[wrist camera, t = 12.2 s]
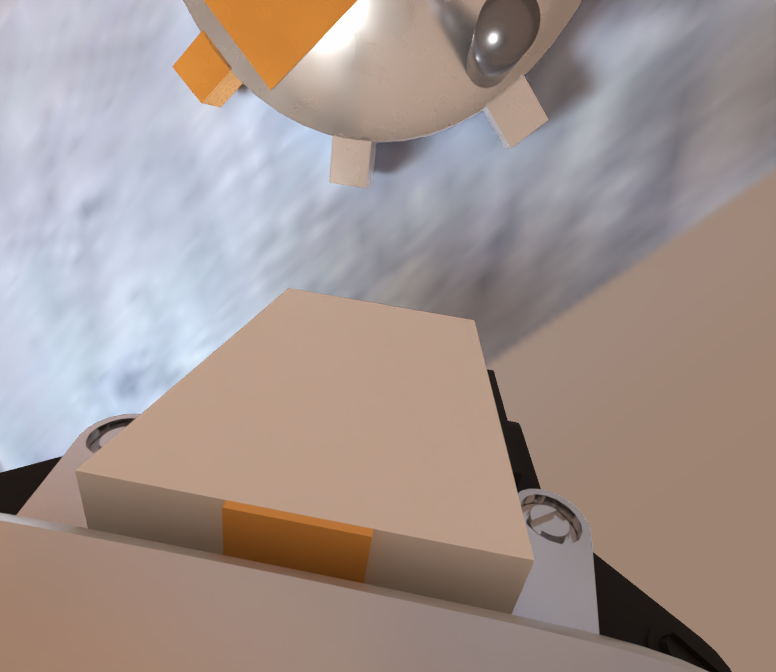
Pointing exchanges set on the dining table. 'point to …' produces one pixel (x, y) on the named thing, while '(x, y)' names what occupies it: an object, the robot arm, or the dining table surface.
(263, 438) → the link block
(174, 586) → the robot arm
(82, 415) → the dining table surface
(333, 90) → the sprocket
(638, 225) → the dining table surface
